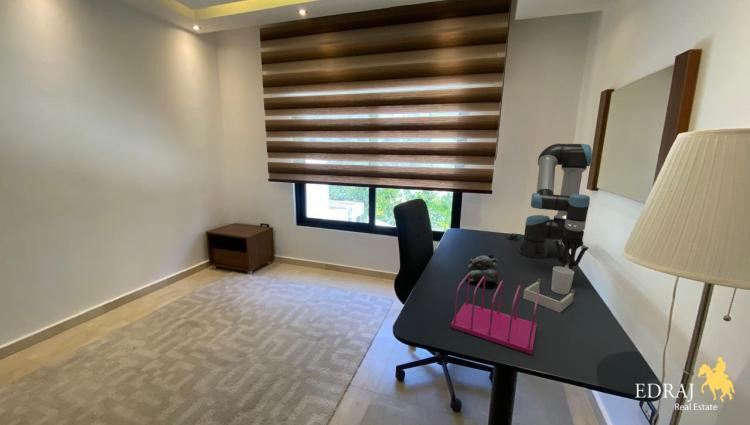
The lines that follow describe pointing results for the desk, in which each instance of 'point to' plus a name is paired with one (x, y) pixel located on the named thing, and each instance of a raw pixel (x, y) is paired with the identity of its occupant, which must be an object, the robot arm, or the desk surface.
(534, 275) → the desk surface
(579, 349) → the desk surface
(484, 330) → the file sorter
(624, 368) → the desk surface
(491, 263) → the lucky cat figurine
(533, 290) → the open u-shaped frame
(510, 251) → the desk surface
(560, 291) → the white cup
